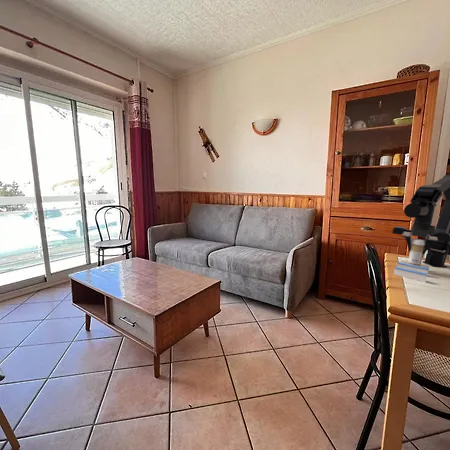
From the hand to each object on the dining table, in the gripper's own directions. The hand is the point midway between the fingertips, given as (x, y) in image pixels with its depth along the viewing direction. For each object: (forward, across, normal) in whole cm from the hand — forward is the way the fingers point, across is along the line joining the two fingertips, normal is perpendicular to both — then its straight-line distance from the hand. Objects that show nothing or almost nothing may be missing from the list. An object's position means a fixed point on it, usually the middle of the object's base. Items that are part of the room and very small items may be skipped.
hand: (416, 253), depth 101 cm
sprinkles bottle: (+8, 0, 0) cm, 8 cm away
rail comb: (+8, 0, -4) cm, 9 cm away
